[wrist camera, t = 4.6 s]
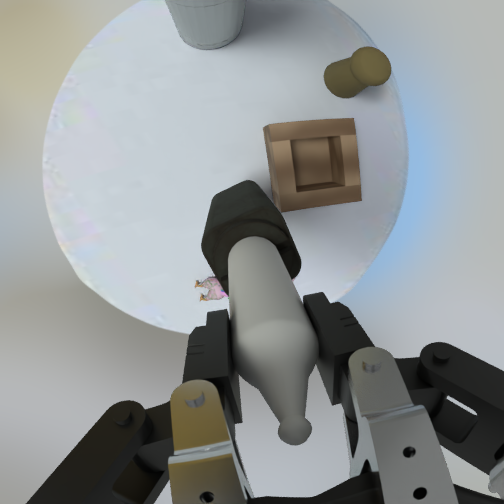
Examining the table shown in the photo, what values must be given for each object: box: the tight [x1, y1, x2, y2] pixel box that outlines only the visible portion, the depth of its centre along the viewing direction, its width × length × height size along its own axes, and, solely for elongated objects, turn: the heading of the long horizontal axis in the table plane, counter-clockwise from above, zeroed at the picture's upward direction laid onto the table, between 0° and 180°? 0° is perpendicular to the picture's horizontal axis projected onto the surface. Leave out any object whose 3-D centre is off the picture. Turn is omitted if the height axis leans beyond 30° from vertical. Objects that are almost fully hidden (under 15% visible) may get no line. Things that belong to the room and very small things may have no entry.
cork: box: [324, 47, 391, 98], centre depth 31 cm, size 6×6×11 cm
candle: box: [201, 180, 319, 445], centre depth 18 cm, size 5×5×25 cm
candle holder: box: [263, 118, 362, 212], centre depth 37 cm, size 11×11×6 cm
